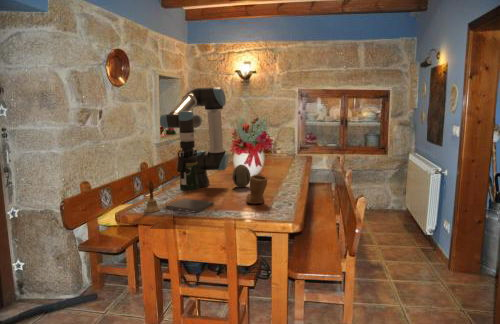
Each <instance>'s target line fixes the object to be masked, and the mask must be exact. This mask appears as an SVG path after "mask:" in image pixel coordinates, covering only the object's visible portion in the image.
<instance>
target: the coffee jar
mask: <svg viewBox="0 0 500 324" xmlns="http://www.w3.org/2000/svg"><path fill="white" fill-rule="evenodd" d="M184 161H186V168H185V172H186V185H182V184H181V174H180V181H179V190H180V191H183V192H192V191H197V190H199V188H200V187H199V185H198V178H197V170H196V166H197V157H196V156H189V158H188V159H185V158H184V159H183V162H184Z"/></svg>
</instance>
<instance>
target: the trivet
mask: <svg viewBox="0 0 500 324" xmlns="http://www.w3.org/2000/svg"><path fill="white" fill-rule="evenodd" d="M213 206H214V201H207V200H199V199H192V198H191V199H190V198H182V199H181V198H180V199H179V200H177V201H173V202H171V203H168V204H166V205H165V209H168V208H173V209H172V210H175V209H181V210H180V211H183V210H188V211H187V212H190V211H195V212H194V213H199V212H201V211H203V210H205V208H206V209H207V207H208V208H210V207H213ZM200 210H201V211H200ZM198 211H199V212H198Z"/></svg>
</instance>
